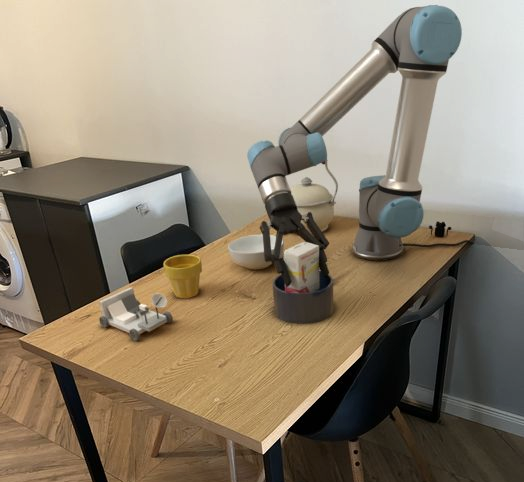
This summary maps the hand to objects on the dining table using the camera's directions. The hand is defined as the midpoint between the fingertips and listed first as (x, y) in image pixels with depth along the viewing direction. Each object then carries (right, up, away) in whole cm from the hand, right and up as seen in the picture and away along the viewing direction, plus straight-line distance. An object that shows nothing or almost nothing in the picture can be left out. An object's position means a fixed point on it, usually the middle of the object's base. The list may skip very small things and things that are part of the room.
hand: (307, 279), depth 133 cm
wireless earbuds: (+47, +20, +45) cm, 68 cm away
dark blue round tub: (0, -7, +7) cm, 10 cm away
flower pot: (-32, -1, +22) cm, 39 cm away
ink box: (-1, -3, +5) cm, 6 cm away
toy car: (-42, -11, +7) cm, 44 cm away
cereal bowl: (-12, +9, +36) cm, 39 cm away
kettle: (+4, +26, +62) cm, 68 cm away
